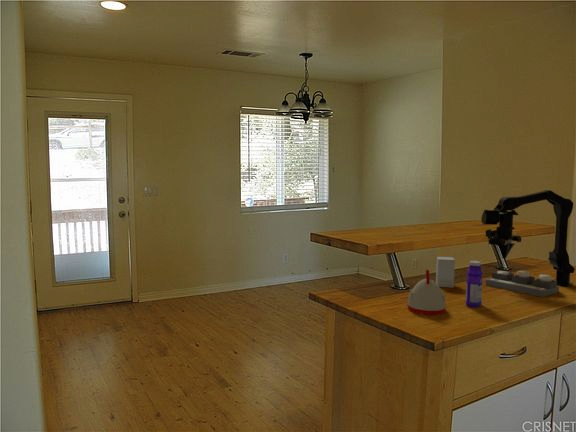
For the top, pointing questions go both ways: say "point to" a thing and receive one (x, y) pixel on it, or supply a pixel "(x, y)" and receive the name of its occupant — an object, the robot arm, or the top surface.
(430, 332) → the top surface
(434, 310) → the grey dome
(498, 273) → the button
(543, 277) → the button end
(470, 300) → the bottle
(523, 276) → the button mid
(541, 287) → the button board
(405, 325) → the top surface
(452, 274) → the supplement box
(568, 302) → the top surface
